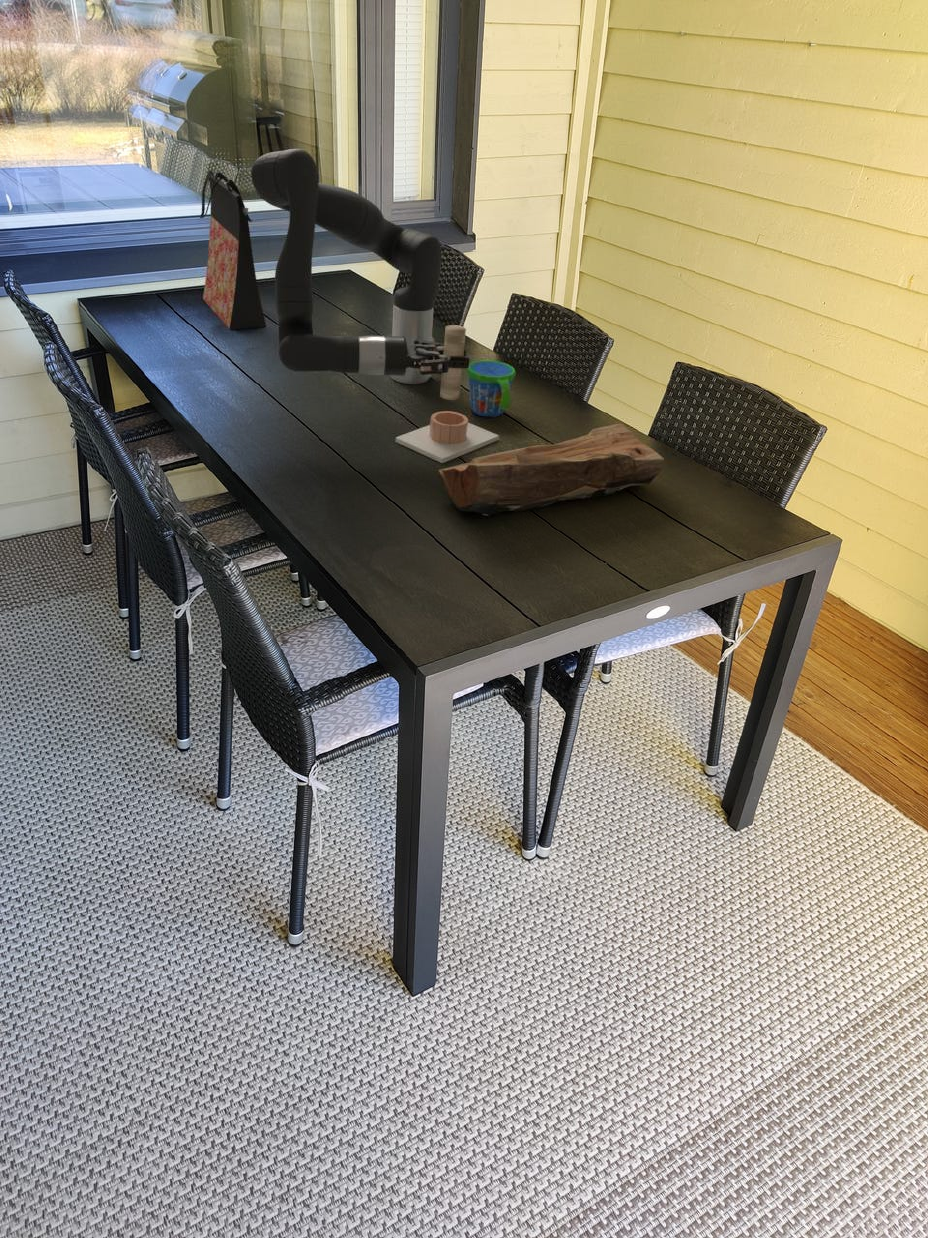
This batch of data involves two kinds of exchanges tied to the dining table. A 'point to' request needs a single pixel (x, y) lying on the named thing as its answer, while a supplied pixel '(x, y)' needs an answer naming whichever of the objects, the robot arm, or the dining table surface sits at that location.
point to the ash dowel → (453, 376)
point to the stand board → (446, 452)
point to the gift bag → (230, 258)
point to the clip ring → (448, 427)
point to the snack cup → (490, 387)
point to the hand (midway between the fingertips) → (466, 358)
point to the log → (552, 472)
